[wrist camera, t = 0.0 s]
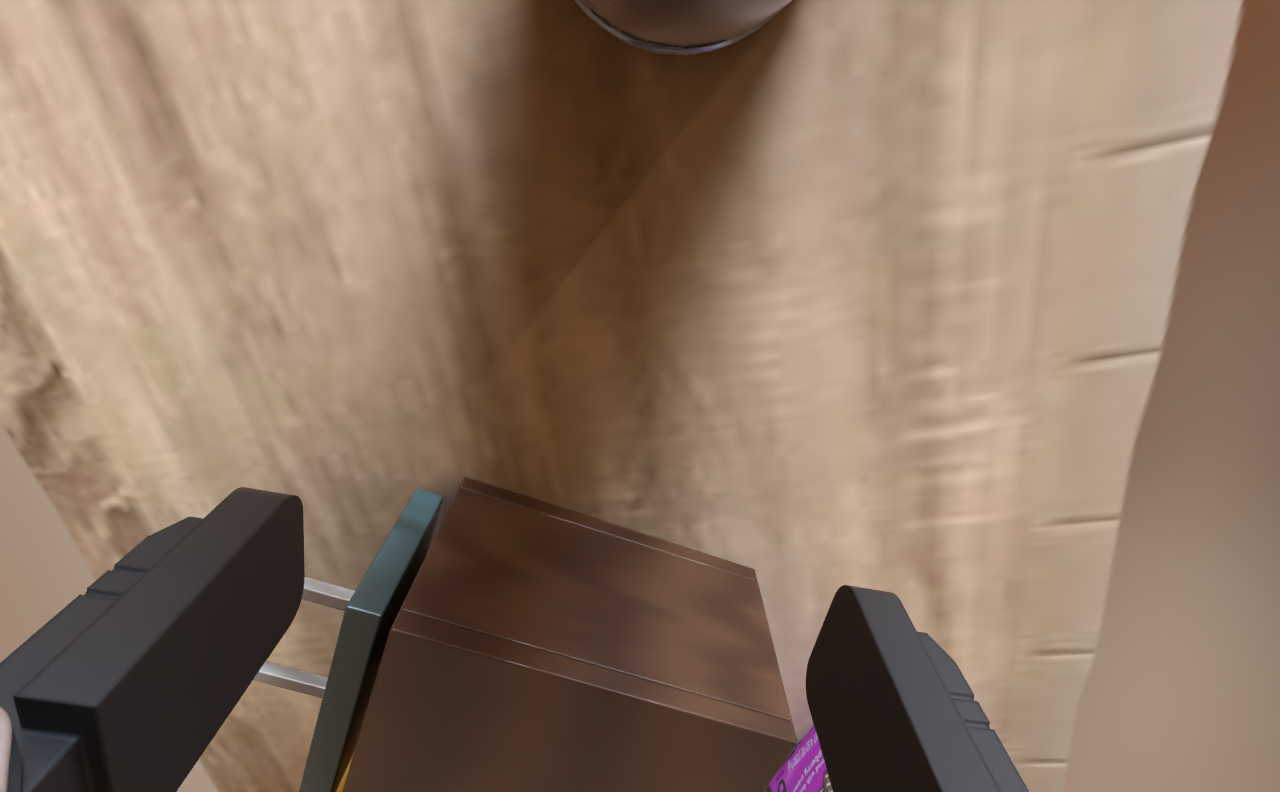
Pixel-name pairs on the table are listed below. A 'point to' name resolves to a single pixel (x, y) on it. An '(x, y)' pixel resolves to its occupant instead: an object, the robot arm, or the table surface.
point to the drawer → (357, 642)
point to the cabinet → (571, 663)
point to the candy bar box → (803, 769)
